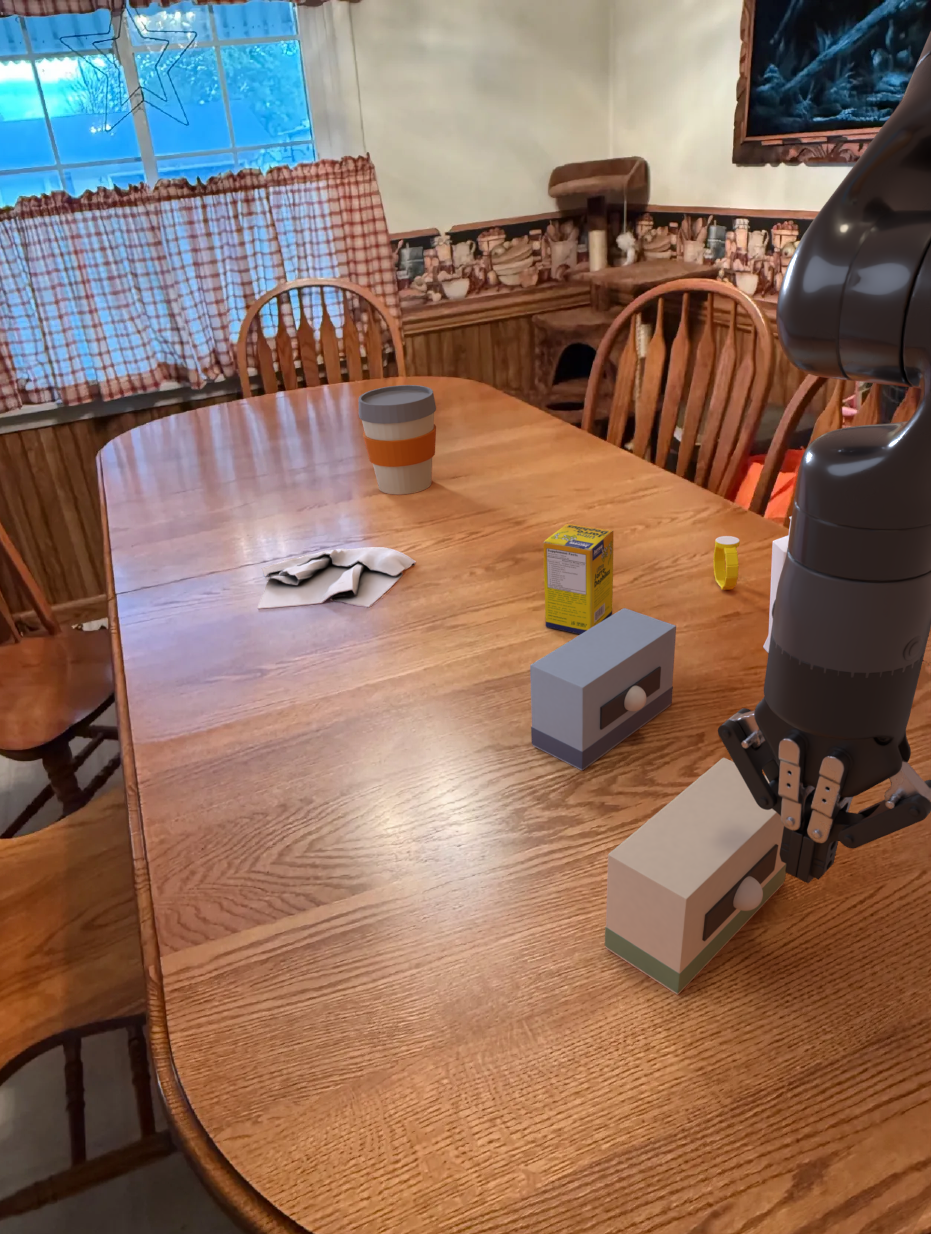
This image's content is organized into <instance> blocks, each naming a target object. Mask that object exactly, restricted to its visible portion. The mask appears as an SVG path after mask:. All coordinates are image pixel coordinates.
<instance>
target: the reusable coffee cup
mask: <svg viewBox="0 0 931 1234" xmlns="http://www.w3.org/2000/svg"><path fill="white" fill-rule="evenodd" d="M436 411H437V405H436V400H435V394H434V390H433V389H432V388H431V387H428V386H424V385H417V384H402V385H401V384H400V385H391V386H384V387H379V388H375V389H372V390H368V391H365V392H364V393H362V394H361V395H359V396H358V418H359V419H360V420H361V423H362V426H363V430H364V431H363V432H362V436H363V440H364V446H365V448H366V453H367V456H368V460H369V462H370V463H371V464H372V466H373V470H374V474H375V478H376V482H377V486H378V490H379V491H380V492H381V493H384V494H389V495H411V494H416V493H419V492H422V491H424V490H426V489H428V488H430V487H431V485H432V482H433V481H432V480H433V479H432V478H433V458H434V456H435V455H436V440H437V439H436V438H437V426H436V424H435V412H436Z"/></svg>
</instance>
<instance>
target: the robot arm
mask: <svg viewBox="0 0 931 1234" xmlns="http://www.w3.org/2000/svg"><path fill="white" fill-rule="evenodd" d="M778 292H779V293H778V296H777V302H776V311H775V312H776V313H775V324H776V331H777V338H778V341H779V342H778V343H779V344H780V347H781V350H782V352H783V354H784V356H785V357H786V359H787V360H788V362H790V364H792V366H793V367H794V368H796V369H798V371H800V372H802V373H805V374H807V375H811V376H813V377H814V376H815V377H819V378H825V379H833V380H841V381H851V382H861V383H867V384H868V383H869V384H879V385H888V386H895V387H904V388H905V387H906V388H916V389H919V390H920V397H919V401H918V404H917V406H916V409H915V410H914V412H913V414H912V416H911V417H910V418H909V420H904V421H898V422H897V421H896V422H887V423H877V424H876V423H875V424H864V425H853V426H847V427H842V428H837V429H833V430H830V431H827V432H825V433H823V434H821V435H819V436H817V437H816V438H815V439H813V440H812V441H811V442H810V443H809V444H808V445H807V447H806V449H805V450H804V451H803V453H802V456H801V459H800V463H799V467H798V471H797V477H796V483H795V491H794V499H793V504H792V513H791V516H792V519H791V526H790V525H789V528H790V533H789V532H788V535H789V541H788V548H787V553H786V558H785V562H784V565H783V568H782V572H781V575H780V578H779V582H778V587H777V593H776V599H775V601H774V604H773V608H772V617H773V623H772V630H771V638H770V645H769V653H768V652H767V660H766V668H765V674H764V675H765V676H764V683H763V698H762V699H761V700H760V701H759V702H758V703H757V704H756V706H755V708H754V710H752V709H750V708H747V707H744V708H743V707H742V708H741V709H739V710H738V711H737V712H736V713H733V714H732V715H731V716H730V717H729V718H727V719H726V720H725V722H723V723H722V724H721V725H720V726H719V727H718V728H717V734H718V736H719V739H720V740H721V743H723V745H724V747H725V749H726V751H727V753H728V754H729V757H730V758H731V761H733V762H734V763H735V765H736V767H737V769H738V771H739V772H740V774H741V776H742V778H743V780H744V781H745V783H746V785H747V787H748V789H749V790H750V792H751V794H752V796H753V798H754V799H755V801H756V803H757V804H758V806H759V807H761V808H762V809H765V810H770V809H773V810H774V811H776V812H777V813H778V814H779V815H780V816H781V822H782V824H783V825H784V829H783V835H782V841H781V848H780V853H779V854H780V858H781V861H782V862H784V863H786V869H785V872H786V874H788V875H790V876H791V877H794V878H796V879H798V880H800V881H801V882H804V883H805V884H810V883H811V882H812V881H813V880H814V879H816V880H820V879H821V878H822V877H823V876H824V875H825V874H826V872H828V870H830V868H831V867H832V866H833V865H834V863H835V858H836V854H837V849H838V844H839V843H840V844H841V845H842V846H844V847H845V848H847V849H857V848H860V847H862V846H864V845H866V844H868V843H871V842H873V841H876V840H879V839H881V838H883V837H886V836H888V835H891V834H893V833H896V832H898V831H901V830H903V829H905V828H907V827H910V826H912V825H915V824H917V823H919V822H922V821H924V820H925V819H926V818H927V817H928V815H929V814H930V813H931V779H926V780H924V779H922V777H921V776H920V775H919V774H918V773H917V771H916V770H915V769H914V768H913V767H912V766H911V764H910V763H909V761H910V759H911V755H912V750H911V746H910V743H909V741H908V737H907V727H908V724H909V720H910V717H911V712H912V707H913V703H914V699H915V695H916V691H917V687H918V682H919V678H920V674H921V670H922V666H923V661H924V657H925V653H926V648H927V645H928V641H929V637H930V632H931V31H930V32H929V34H928V36H927V39H926V41H925V44H924V46H923V49H922V51H921V53H920V57H918V60H917V63H916V65H915V67H914V70H913V72H912V75H911V77H910V79H909V82H908V84H907V87H906V89H905V92H904V93H903V96H902V98H901V99H900V101H899V103H898V105H897V106H896V108H895V109H894V111H892V113H891V114H890V116H889V117H888V118H887V119H886V121H885V123H884V124H883V125H882V126H881V128H880V129H879V130H878V131H877V133H876V135H875V136H874V137H873V139H872V140H871V142H870V143H869V144H868V145H867V147H866V149H865V150H864V151H863V153H862V154H861V156H860V157H859V158H858V159H857V161H856V162H855V164H854V165H853V166H852V167H851V169H850V171H849V172H848V173H847V174H846V175H845V177H844V178H843V180H842V181H841V182H840V184H839V185H838V186H837V188H836V189H835V190H834V191H833V193H832V194H831V195H830V197H829V198H828V199H827V201H826V202H825V203H824V205H823V206H822V208H821V209H820V210H819V212H818V213H817V214H816V216H814V219H813V220H812V222H811V223H810V224H809V226H808V227H807V230H805V232H804V233H803V235H802V237H801V239H800V240H799V242H798V244H797V246H796V248H795V250H794V252H793V254H792V255H791V257H790V259H789V262H788V264H787V267H786V269H785V272H784V275H783V278H782V281H781V283H780V288H779V291H778ZM764 775H765V776H766V777H767V779H768V780H769V782H770V783H768V781H767V780H766V778H765V776H764ZM887 780H889V781H890V786H889V788H888V789H886V791H885V792H884V795H883V796H884V799H883V800H880V801H878V802H876V803H874V804H872V805H869V806H867V807H865V808H862V809H861V810H859V811H858V812H850V811H849V810H850V808H851V803H852V801H853V798H854V797H857V796H859V795H860V794H863V793H865V792H866V791H868V790H870V789H872V788H874V787H875V786H877V785H879V784H881V783H883V782H885V781H887Z"/></svg>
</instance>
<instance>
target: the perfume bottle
mask: <svg viewBox="0 0 931 1234" xmlns="http://www.w3.org/2000/svg"><path fill="white" fill-rule="evenodd" d="M788 518H789V520H790V522H789V529H788V535H784V536H782V537H779V538H777V539H774V540H772V544H771V572H770V590H769V591H770V592H769V593H770V595H769V615H768V616H769V617H768V635H767V637H766V639H765V642H764V644H763V646H762V647H763V649H764V650H765V652H766V653H767V654H768V653H769V645H770V638H771V630H772V623H773V617H772V608H773V604H774V601H775V599H776V593H777V587H778V582H779V578H780V575H781V572H782V568H783V565H784V562H785V558H786V553H787V548H788V541H789V533H790V526H791V519H792V515H791V516H789V517H788Z"/></svg>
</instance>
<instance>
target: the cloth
mask: <svg viewBox="0 0 931 1234" xmlns="http://www.w3.org/2000/svg"><path fill="white" fill-rule="evenodd" d="M416 564H417V561H416V560H415V559H413V558H412V557H410V556H409V555H407V554H405V553H403V552H402V551H399V550H397V549H394V548H390V547H384V546H375V547H374V546H370V547H367V546H366V547H365V546H363V547H362V546H361V547H358V548H349V549H348V548H336V549H326V550H321V551H318V552H316V553H310V554H304V555H302V556H299V557H294V558H287V559H285V560H282V561H279V562H277V563H273V564H270V565H267V566H265V567H261V571H262V574H263V575H264V578H266V577H267V576H270V578H268V579H267V581H266V584H265V587H264V590H263V592H262V595H261V597H260V600H259V602H258V605H257V610H263V609H276V608H286V607H299V606H312V605H319V604H323V603H324V602H325V601H327V600H329V601H332V602H336V603H337V602H338V603H344V604H347V605H351V606H357V607H364V608H370V607H372V606H373V605H374V604H375V603H376V602H377V601H378V600H379V599H380V598H382V597H383V596H384V595H385V594H386V593H387V592H388V591H389V590H390V589H392V587H393V586H394V585H396V584H397V582H399V580H400V579H402V577H403V574H404V573H403V571H406V570H408V569H409V568H411V567H413V566H415V565H416ZM329 598H330V599H329Z"/></svg>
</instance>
